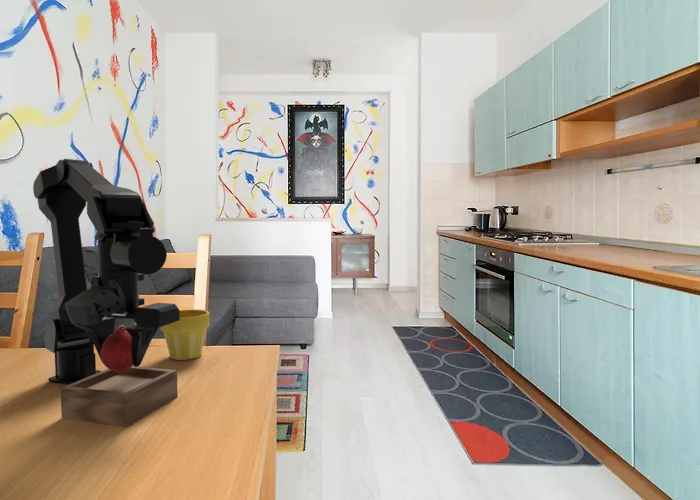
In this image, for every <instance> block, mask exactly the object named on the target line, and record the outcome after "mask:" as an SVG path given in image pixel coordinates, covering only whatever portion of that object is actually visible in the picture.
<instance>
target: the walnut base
mask: <svg viewBox="0 0 700 500" xmlns="http://www.w3.org/2000/svg"><path fill="white" fill-rule="evenodd" d="M100 371H101V372H99V373H97V374H94V375H92V376H89V377H87V378H84V379H82V380H79V381H77V382H74V383H72V384H70V383H69V384H67V385H65V386H63V387H60V405H61V407H60V410H61V418H62V419H65V420H66V419H67V420H73V421H80V422H88V423H95V424H101V425H107V426H108V425H109V426H117V427H123V428H128V427H130V426H131V425H133V424H135V423H136V422H138V421H139V420H141V419H143V418H145V417H146V416H149V414H152V413H153V412H154V411H157V410H158V409H159V408H162V407H163V406H164V405H166V404H168V403H170V402H171V401H173V400H175V399H177V398H178V370H176V369H170V368H169V369H168V368H158V367H147V366H140V365H139V366H137V367H134V365H133V366H132V367H131V368H130V369H128V371H127V372H126V373H124V374H118V373H116V372H114V371H112V370H110V369H108V368H106V369H103V370H100Z"/></svg>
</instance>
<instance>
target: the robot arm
mask: <svg viewBox="0 0 700 500" xmlns="http://www.w3.org/2000/svg"><path fill="white" fill-rule="evenodd" d="M32 189H33V190H32V191H33V196H34V198H35V199H37V204H38V209H39V211H40V212H41V213H42V214H43V215H44V216H45V217H46V219H47V220H48V221H49V222H50V227H51V228H50V229H51V237H52V245H53V254H54V261H55V262H54V263H55V271H56V278H57V279H56V280H57V287H58V288H57V289H58V298H57V301H56V302H55V303H54V306H53V307H52V309H51V313H50V316H51V318H50V320H49V323H48V325H47V328H46V331H45V334H44V337H43V339H44V340H43V341H44V347H45V349H46V350H47V351H49V352H51V353H53V354H54V366H55V367H54V368H55V369H54V370H55V371H54V372H55V375H53V376H50V377H48V379H47V380H48V382H56V383H62V384H63V383H64V384H69V385H70V384H72V383H74V382H77V381H79V380H82V379H84V378H87V377H89V376H92V375H94V374H97V373H99V372H101V371H102V370H99V369H97V364H96V360H97V359H96V353H95V350H96V352H97V354H98V357H99V359H100V361H101V362H102V360H101V348H102V345H103V343H104V341H105V340H106V339H107V338H108V337H109V336H110V335H111V334H113V333H114V332H115V327H116V326H115V324H116V319H129V320H134V324H133V325H132V326H127V327H126V328H125V331H127V332H128V333H129V334H130V335H131V339H132V358H133V364H134V365H133V366H134V367H137V366H140V365H142V363H143V360H144V358H145V356H146V353H147V351H148V349H149V347H150V345H151V342H152V340H153V338H154V336H155V335H156V333H157V331H158V330H159V328H160V327H162V326H165V325H168V324H171V323H173V322H176V321H179V320H180V312H179V310H180V308H179V307H178V306H177V304H175V303H168V302H167V303H165V302H155V303H152V304H151V303H150V304H148V305H145V298H144V297H143V298H140V296H139V295H140V293H139V289H140V288H139V285H140V284H139V282H140V281H144V280H145V277H144V276H145V275H152V274H155V273H157V272H159V271H160V270H161V269H162V268H163V267H164V265H165V263H166V261H167V257H168V255H167V253H168V252H167V250H166V247H165V245H164V244H163V242H162V241H161V240H160V239H159V238H158V237H155V236H154V233H155V227H154V224H155V222H154V220H153V218H152V217H151V215H150V213H149V211H148V209H147V206H146V204H145V201H144V200H143V198H142V196H141V195H140V194H139V193H138V192H137V191H135V190H132V189H130V188H126V187H121V186H117V185H115V184H112V182H110V181H109V180H108V179H107V178H106V177H105V176H104V175H102V174H101V173H100V172H99V171H98V170H96V168H94V165H93V163H92V162H90V161H88V160H84V159H82V160H81V159H73V158H63V159H59V160H58V161H57V162H56V164H55V165H52V166H50V167H48V168H46V169H44V170H41V171H40V172H39V173H38V174H37V176H36V177H35V179H34V182H33V187H32ZM85 208H86V214H87V216H88V219H89V220H90V222H91V224H92V226H93V227H94V229H95V230H96V231H97V232H96V234H95V235H94V240H95V241H96V243H97V267H98V269H97V271H98V274H97V275H95V276H92V277H91V280H90V288H89V289H88V283H87V277H86V268H85V260H84V252H83V244H82V234H81V228H80V217H81V215H82V213H83V211H84V210H85ZM101 364H103V362H102V363H101Z"/></svg>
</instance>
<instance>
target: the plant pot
mask: <svg viewBox="0 0 700 500" xmlns="http://www.w3.org/2000/svg"><path fill="white" fill-rule="evenodd" d="M179 312H180V320H179V321H176V322H173V323H171V324H168V325H165V326H162V327H159V328H160V331H161V332H163V336H164V338H165V339H164V340H165V342H166V345H167V350H168V354H169V357H170V359H171V360H174V359H175V361H189V360H194V359H196V358H199V357H202V353H203V347H204V343H205V337H206V333H207V329H208V328H209V327H210V312H209V311H208V310H206V309H205V310H204V309H198V308H197V309H196V308H194V309H179ZM193 358H194V359H193ZM188 359H189V360H188Z"/></svg>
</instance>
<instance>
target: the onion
mask: <svg viewBox="0 0 700 500" xmlns="http://www.w3.org/2000/svg"><path fill="white" fill-rule="evenodd" d="M125 328H127V327H126V326H125V325H123V324H122V325H119V326H118V327H117V328H116V329H115V330H114V333H113V334H111V335H110V336H109V337H108V338H107V339H106V340H105V341H104V343H103V345H102V348H101V359H100V361H101V360H102V361H101V362H103V363H102V364H103V365H104V366H105V368H106V369H110V370H112V371H114V372H116V373H118V374H124V373H126V372H127V371H128V369H130V368H131V367H132V366H134V364H133V358H132V339H131V335H130V334H129V333H128V332H127V331H126V329H125Z"/></svg>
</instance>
